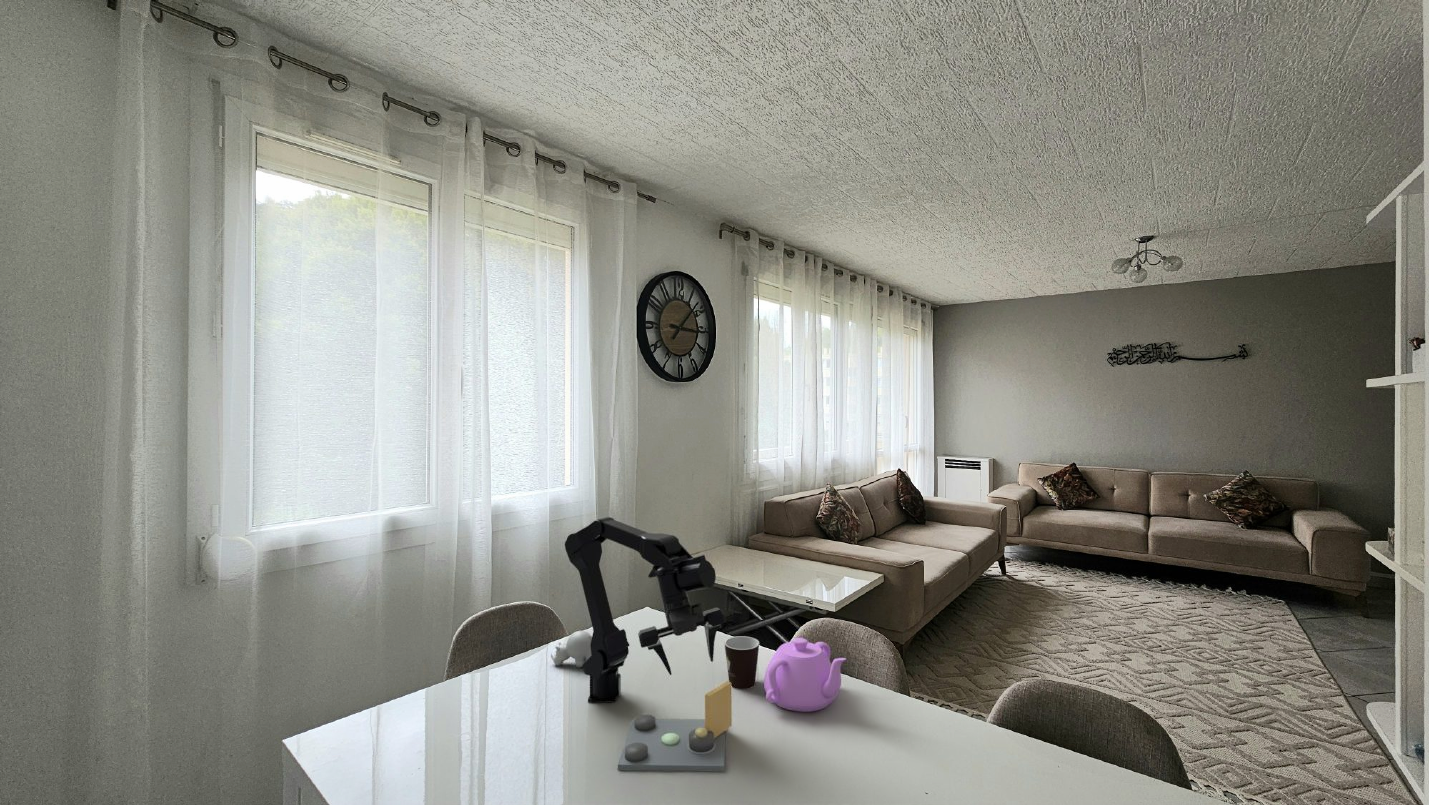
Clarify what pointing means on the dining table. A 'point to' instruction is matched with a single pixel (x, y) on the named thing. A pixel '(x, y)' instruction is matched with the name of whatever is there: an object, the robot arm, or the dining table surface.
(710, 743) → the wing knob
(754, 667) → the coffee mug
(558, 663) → the round bodied animal figurine
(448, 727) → the dining table surface
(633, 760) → the plate
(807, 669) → the teapot
